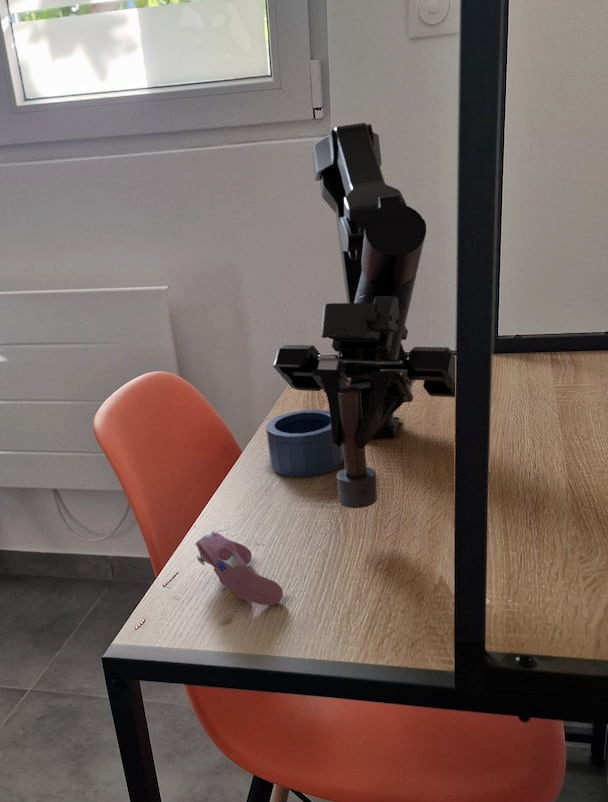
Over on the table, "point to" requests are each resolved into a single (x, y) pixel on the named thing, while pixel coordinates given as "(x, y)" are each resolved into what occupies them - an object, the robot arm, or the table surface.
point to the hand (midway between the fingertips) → (347, 446)
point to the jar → (303, 444)
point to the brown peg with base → (354, 455)
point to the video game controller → (237, 570)
